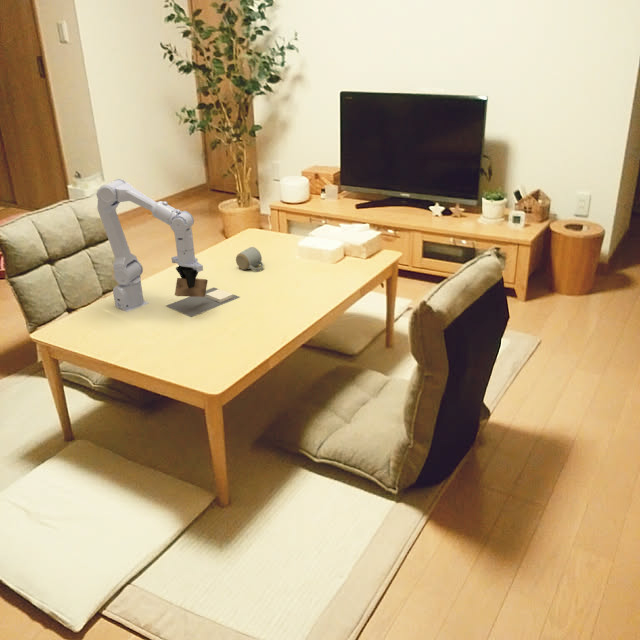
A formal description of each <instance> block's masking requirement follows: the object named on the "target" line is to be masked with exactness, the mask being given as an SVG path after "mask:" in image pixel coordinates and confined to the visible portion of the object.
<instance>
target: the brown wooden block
mask: <svg viewBox="0 0 640 640" xmlns="http://www.w3.org/2000/svg"><path fill="white" fill-rule="evenodd" d="M208 281H209V280H208V279H205V278H196V279H195V285H194V287H192V288H188V285H187V280H186V278H181V277H177V279H176V283H175V292H174V296H176V297H205V293H206V290H207V288H208V287H207V286H208Z"/></svg>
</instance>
